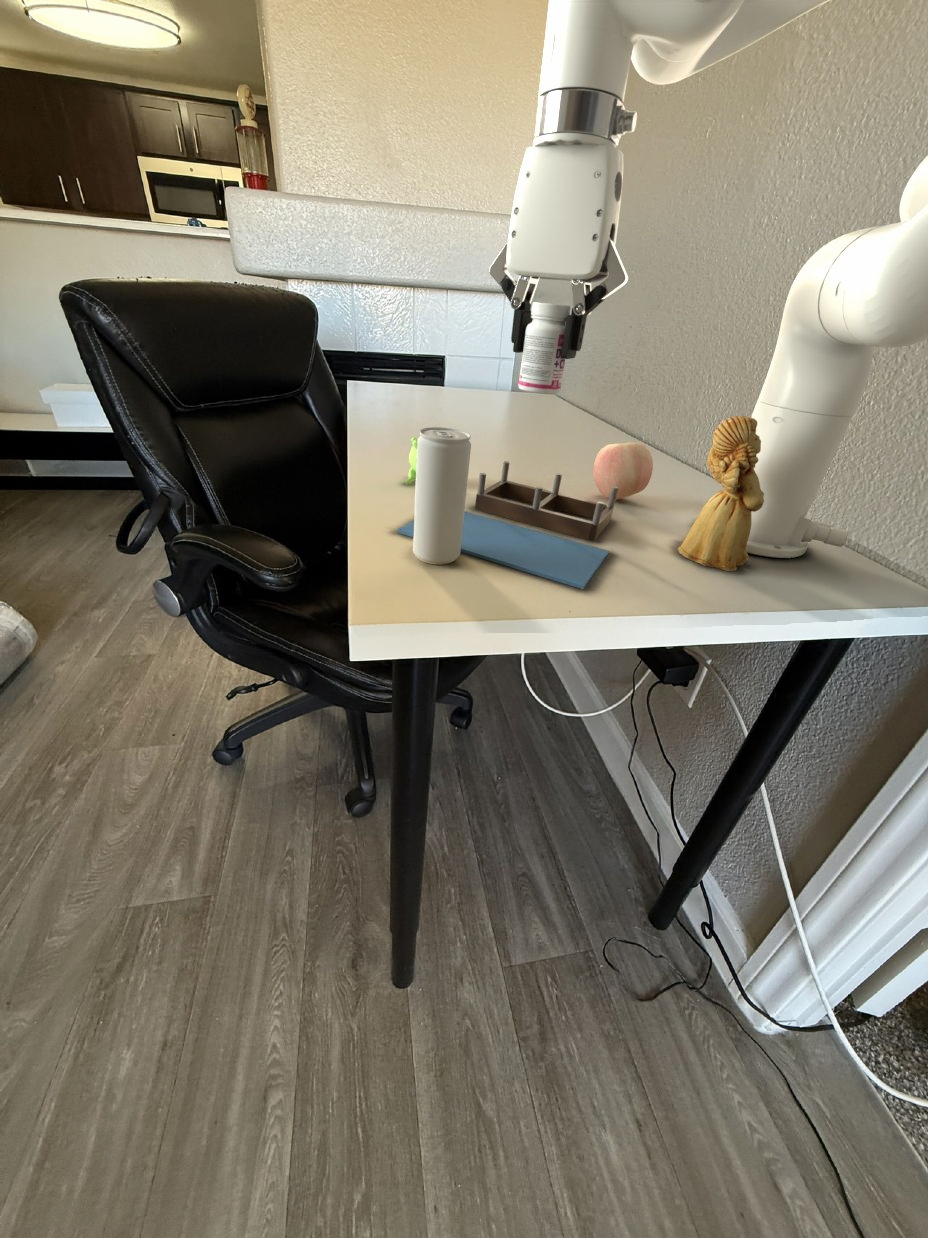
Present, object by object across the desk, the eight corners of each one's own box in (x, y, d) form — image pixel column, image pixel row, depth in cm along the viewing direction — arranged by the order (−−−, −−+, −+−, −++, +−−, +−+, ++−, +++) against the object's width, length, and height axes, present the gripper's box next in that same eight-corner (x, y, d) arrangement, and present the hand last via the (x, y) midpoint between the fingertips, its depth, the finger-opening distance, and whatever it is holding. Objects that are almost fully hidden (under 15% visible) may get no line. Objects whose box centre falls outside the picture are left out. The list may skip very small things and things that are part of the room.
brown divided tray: (610, 521, 66) (619, 486, 64) (593, 541, 60) (603, 504, 57) (500, 493, 71) (504, 460, 69) (474, 509, 65) (478, 473, 63)
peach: (636, 493, 78) (652, 438, 73) (649, 511, 71) (666, 451, 67) (584, 487, 78) (596, 432, 73) (591, 504, 71) (605, 444, 67)
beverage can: (417, 567, 50) (424, 439, 43) (408, 546, 54) (413, 425, 47) (465, 565, 51) (478, 440, 45) (453, 545, 55) (463, 427, 49)
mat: (608, 554, 57) (609, 550, 57) (583, 589, 49) (584, 585, 49) (442, 508, 64) (442, 505, 64) (397, 532, 56) (397, 529, 56)
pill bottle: (559, 396, 56) (573, 305, 52) (515, 391, 57) (526, 301, 52) (561, 390, 60) (574, 305, 56) (520, 385, 61) (530, 301, 56)
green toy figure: (405, 484, 71) (407, 441, 68) (406, 472, 75) (408, 432, 72) (450, 488, 71) (454, 445, 68) (449, 476, 76) (452, 435, 73)
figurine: (756, 575, 56) (820, 431, 48) (685, 566, 56) (736, 421, 48) (731, 546, 63) (783, 415, 55) (667, 538, 63) (710, 407, 55)
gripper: (678, 140, 47) (629, 363, 56) (507, 144, 53) (488, 345, 63) (664, 113, 41) (612, 367, 51) (474, 122, 47) (459, 347, 57)
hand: (544, 352), depth 57 cm, fingers closed on pill bottle, 4 cm apart
